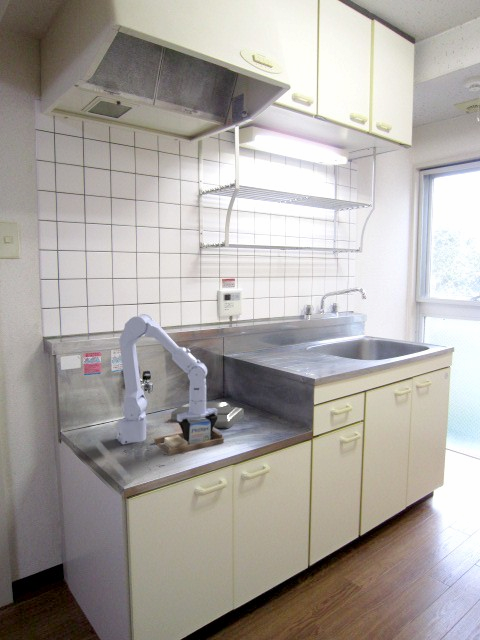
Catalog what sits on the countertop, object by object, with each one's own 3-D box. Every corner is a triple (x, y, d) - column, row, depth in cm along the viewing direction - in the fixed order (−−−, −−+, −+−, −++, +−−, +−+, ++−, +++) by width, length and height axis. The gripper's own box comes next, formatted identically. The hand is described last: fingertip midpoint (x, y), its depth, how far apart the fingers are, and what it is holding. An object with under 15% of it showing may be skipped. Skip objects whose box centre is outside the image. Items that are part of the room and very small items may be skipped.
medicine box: (189, 449, 144) (189, 424, 144) (184, 445, 148) (184, 420, 147) (210, 445, 149) (211, 420, 148) (204, 440, 152) (205, 416, 152)
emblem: (194, 422, 156) (162, 403, 179) (194, 437, 157) (162, 415, 179) (256, 410, 172) (219, 394, 195) (256, 424, 172) (219, 405, 195)
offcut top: (173, 450, 140) (173, 444, 139) (164, 443, 145) (164, 437, 145) (187, 447, 142) (187, 441, 142) (177, 440, 148) (177, 435, 148)
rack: (169, 459, 136) (169, 447, 136) (154, 446, 146) (154, 435, 146) (223, 447, 147) (223, 435, 147) (206, 435, 157) (206, 425, 157)
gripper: (183, 405, 139) (183, 446, 141) (222, 399, 147) (221, 437, 149) (174, 400, 145) (174, 439, 147) (211, 394, 153) (211, 431, 155)
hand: (197, 438), depth 148 cm, fingers closed on medicine box, 7 cm apart
